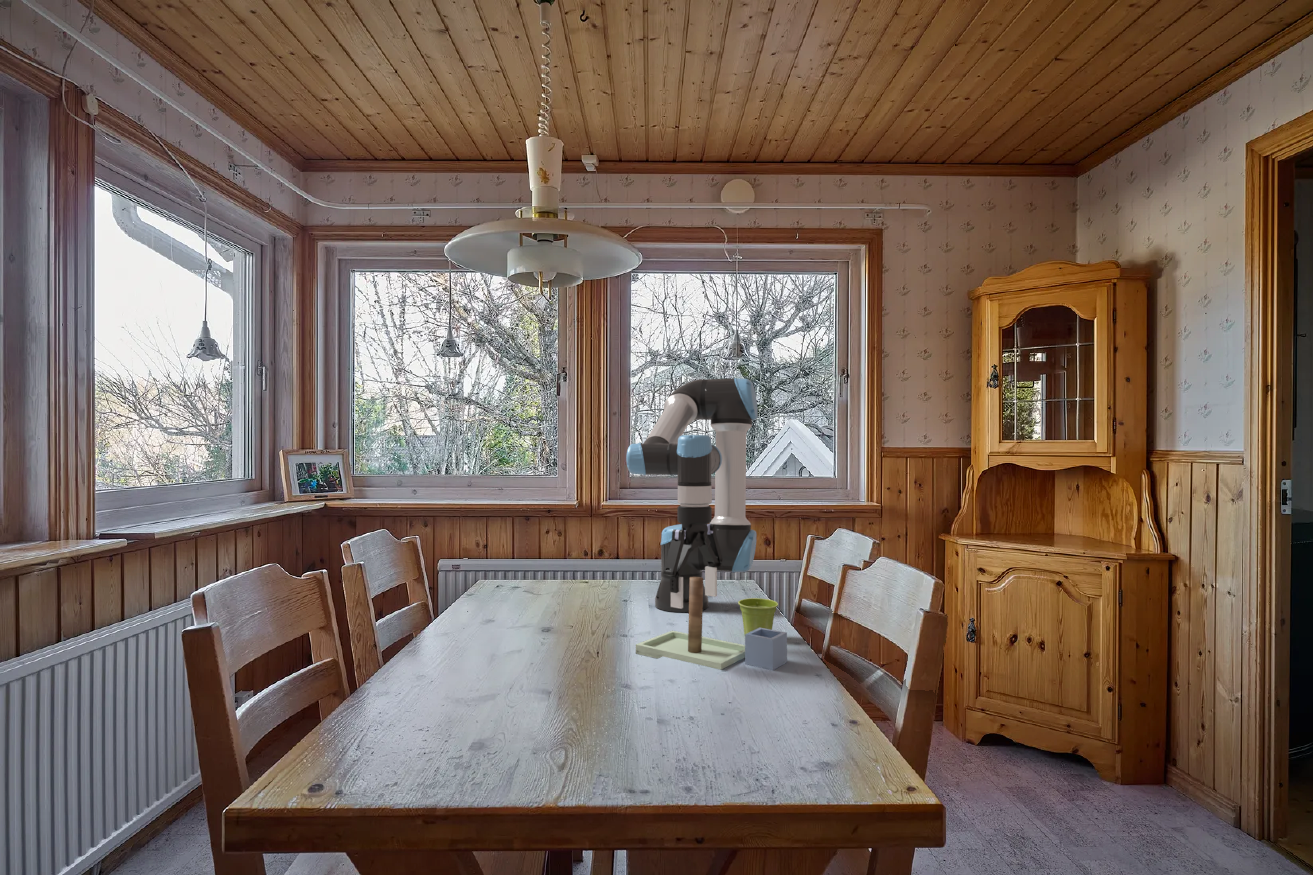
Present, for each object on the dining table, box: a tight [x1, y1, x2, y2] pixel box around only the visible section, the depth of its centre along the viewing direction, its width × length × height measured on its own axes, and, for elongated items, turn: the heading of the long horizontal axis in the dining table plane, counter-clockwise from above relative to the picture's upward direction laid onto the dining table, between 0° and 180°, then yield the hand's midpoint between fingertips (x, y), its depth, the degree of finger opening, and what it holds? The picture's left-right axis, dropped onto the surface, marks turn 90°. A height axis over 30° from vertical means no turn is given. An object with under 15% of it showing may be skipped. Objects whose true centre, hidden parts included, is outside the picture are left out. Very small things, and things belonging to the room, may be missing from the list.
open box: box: [744, 628, 788, 672], centre depth 144 cm, size 6×6×7 cm
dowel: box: [687, 576, 704, 653], centre depth 153 cm, size 3×3×16 cm
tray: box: [635, 630, 745, 670], centre depth 153 cm, size 14×22×2 cm, turn 53°
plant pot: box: [737, 597, 779, 636], centre depth 165 cm, size 9×9×9 cm
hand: (694, 601), depth 153 cm, fingers open, 13 cm apart
